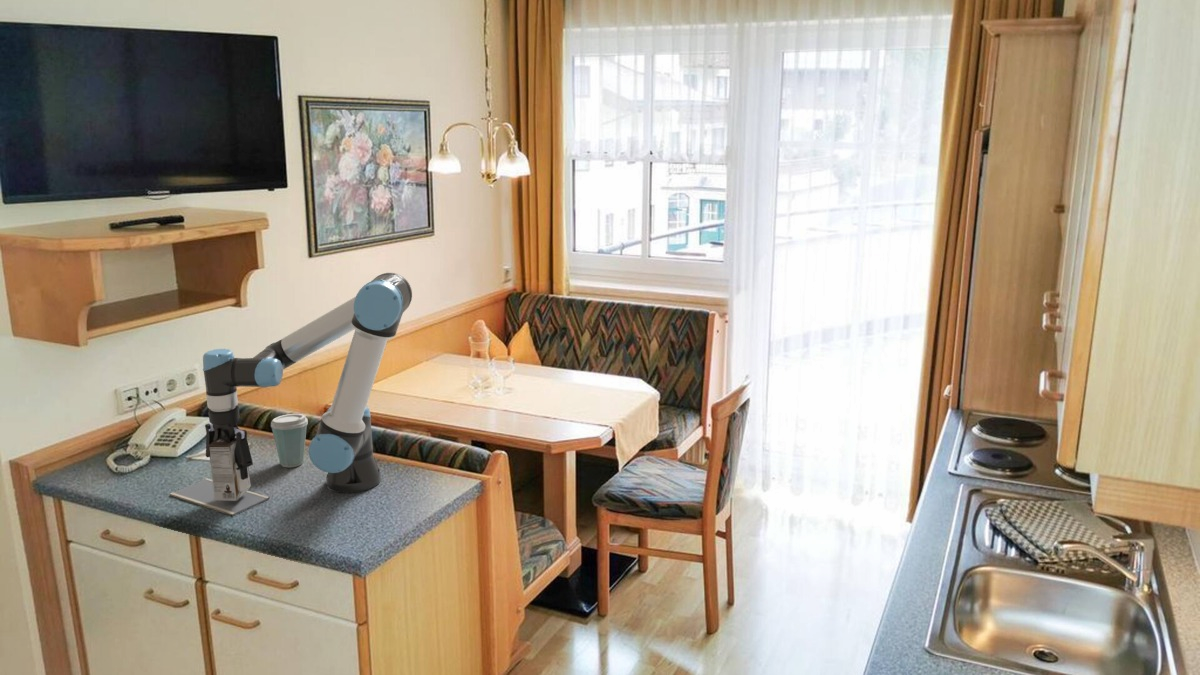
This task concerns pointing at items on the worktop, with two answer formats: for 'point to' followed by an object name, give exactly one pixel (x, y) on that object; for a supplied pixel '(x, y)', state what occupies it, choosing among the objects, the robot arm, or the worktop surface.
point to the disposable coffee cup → (290, 438)
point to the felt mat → (204, 496)
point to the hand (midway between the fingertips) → (232, 485)
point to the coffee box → (225, 471)
